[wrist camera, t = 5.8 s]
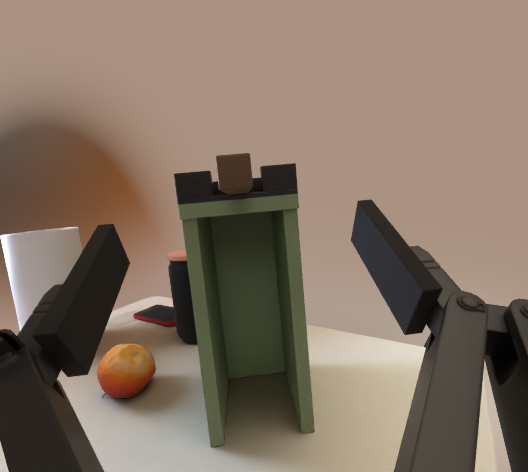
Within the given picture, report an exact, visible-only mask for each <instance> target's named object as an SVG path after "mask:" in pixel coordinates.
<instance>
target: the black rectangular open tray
mask: <svg viewBox="0 0 528 472" xmlns="http://www.w3.org/2000/svg"><path fill="white" fill-rule="evenodd" d="M260 170H261V171H260V172H261V178H252V182H253V187H252V188H251V190H250V191H249V192H248V193H244V194H233V195H228V194H226V193H224V192H222V191H220V190H219V183H218V181H217V182H212V176H211V172H210V171H201V172H190V173H178V174H174V179H175V186H176V194H177V199H178V200H177V202H178V205H180V204H190V203H201V202H212V201H223V200H234V199H244V198H255V197H266V196H277V195H288V194H297V193H298V192H297V177H296V164H295V163H294V164H283V165H271V166H261V167H260Z"/></svg>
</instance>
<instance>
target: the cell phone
mask: <svg viewBox="0 0 528 472" xmlns="http://www.w3.org/2000/svg"><path fill="white" fill-rule="evenodd" d="M133 316H134V318H136V319H140V320H145V321H149V322H153V323H157V324H161V325H166V326H172V325H175V324H176V320H175V313H174V307H169V306H163V305H155V306H152V307H150V308H147V309H145V310H142V311H140V312H138V313H135V314H134V315H133Z"/></svg>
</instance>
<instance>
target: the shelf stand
mask: <svg viewBox="0 0 528 472" xmlns="http://www.w3.org/2000/svg"><path fill="white" fill-rule="evenodd" d="M297 208H299V203H298V194H288V195H277V196H266V197H255V198H244V199H234V200H223V201H212V202H201V203H190V204H180V205H178V209H179V217H180V220H182V224H183V232H184V240H185V247H186V256H187V264H188V272H189V280H190V287H191V295H192V303H193V311H194V319H195V327H196V334H197V342H198V350H199V358H200V366H201V374H202V382H203V389H204V397H205V405H206V413H207V421H208V429H209V436H210V444H211V447H215V446H222V445H224V437H225V423H226V408H227V394H228V380H229V379H233V378H241V377H248V376H256V375H263V374H271V373H278V372H285V371H286V375H287V379H288V382H289V386H290V390H291V394H292V398H293V401H294V405H295V409H296V413H297V417H298V420H299V424H300V428H301V432H302V433H309V432H314V420H313V407H312V394H311V381H310V368H309V355H308V343H307V330H306V317H305V304H304V291H303V279H302V266H301V253H300V241H299V229H298V228H299V227H298V214H297Z"/></svg>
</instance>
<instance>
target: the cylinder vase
mask: <svg viewBox="0 0 528 472" xmlns="http://www.w3.org/2000/svg"><path fill="white" fill-rule="evenodd" d="M1 240H2V245H3V250H4V255H5V259H6V265H7V269H8V274H9V279H10V284H11V289H12V294H13V299H14V303H15V308H16V313H17V318H18V323H19V328H20V331H21V329H22V327H23V326H24V324H25V323H26V321H27V320H28V318H29V317H30V315H31V314H33V313H32V312H33V310H34V309H35V307H36V306H38V303H39V301H40V299H41V298H42V296H43V295H44V294H45V293H46V292H47V291H48V290H49V289H50V288H51V287H53V286H54V285H57V284H63V283H64V281H65V280H66V278H67V276H68V275H69V273H70V271H71V270H72V268H73V266H74V265H75V263H76V261H77V260H78V258H79V256H80V255H81V253H82V249H81V244H80V238H79V231H78V227H69V228H58V229H48V230H39V231H30V232H22V233H14V234H7V235H1Z"/></svg>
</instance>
